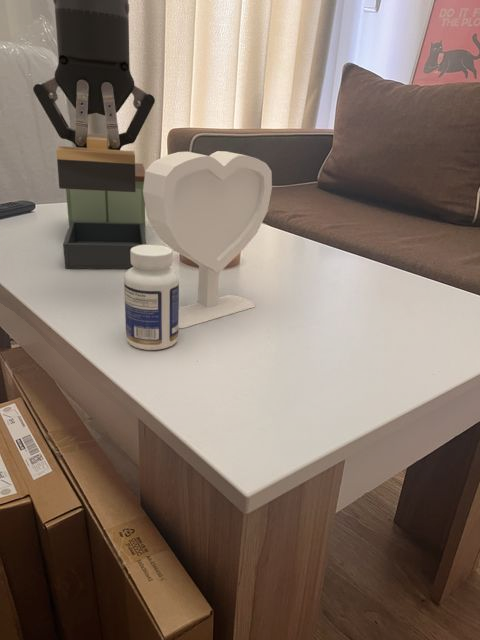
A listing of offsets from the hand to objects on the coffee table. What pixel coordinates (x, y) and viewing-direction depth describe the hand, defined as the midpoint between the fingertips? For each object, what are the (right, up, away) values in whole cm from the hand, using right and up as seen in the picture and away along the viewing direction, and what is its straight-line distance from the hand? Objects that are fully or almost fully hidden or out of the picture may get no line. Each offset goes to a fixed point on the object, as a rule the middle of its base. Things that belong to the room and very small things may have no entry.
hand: (99, 178), depth 63 cm
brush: (0, -1, -2) cm, 2 cm away
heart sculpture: (+13, -16, 0) cm, 21 cm away
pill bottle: (+8, -20, -8) cm, 23 cm away
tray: (-4, -6, +17) cm, 18 cm away
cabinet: (-7, 0, +29) cm, 30 cm away
